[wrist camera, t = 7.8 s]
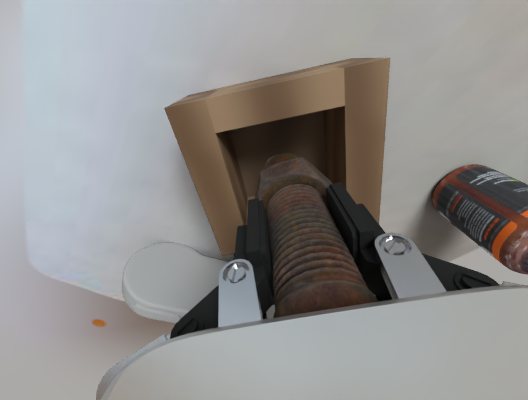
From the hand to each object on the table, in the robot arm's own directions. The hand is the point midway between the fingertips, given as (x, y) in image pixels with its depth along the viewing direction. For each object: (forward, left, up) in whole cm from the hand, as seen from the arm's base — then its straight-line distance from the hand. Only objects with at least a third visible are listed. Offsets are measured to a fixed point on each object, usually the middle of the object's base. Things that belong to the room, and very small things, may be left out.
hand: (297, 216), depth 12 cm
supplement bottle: (-18, +8, -11) cm, 22 cm away
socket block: (0, 0, -11) cm, 11 cm away
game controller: (+9, +12, -11) cm, 19 cm away
